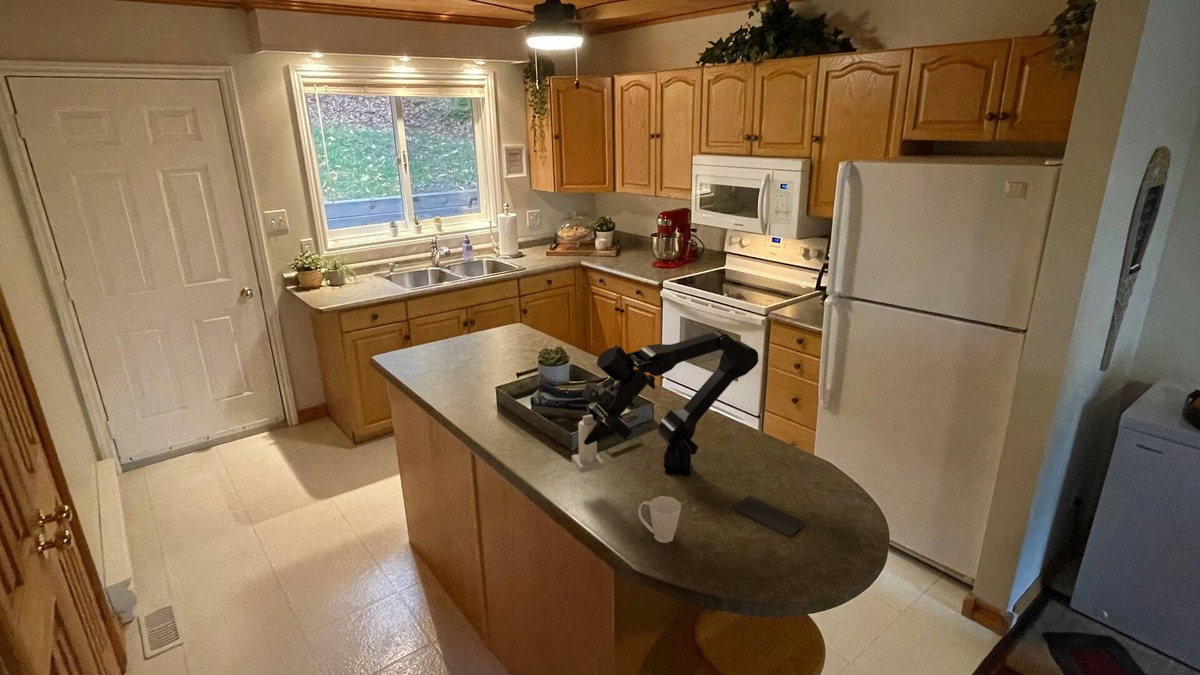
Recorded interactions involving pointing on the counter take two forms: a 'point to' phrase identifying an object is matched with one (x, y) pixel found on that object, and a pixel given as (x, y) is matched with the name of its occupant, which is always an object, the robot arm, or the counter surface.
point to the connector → (587, 448)
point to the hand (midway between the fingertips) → (582, 440)
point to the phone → (768, 516)
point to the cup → (662, 517)
